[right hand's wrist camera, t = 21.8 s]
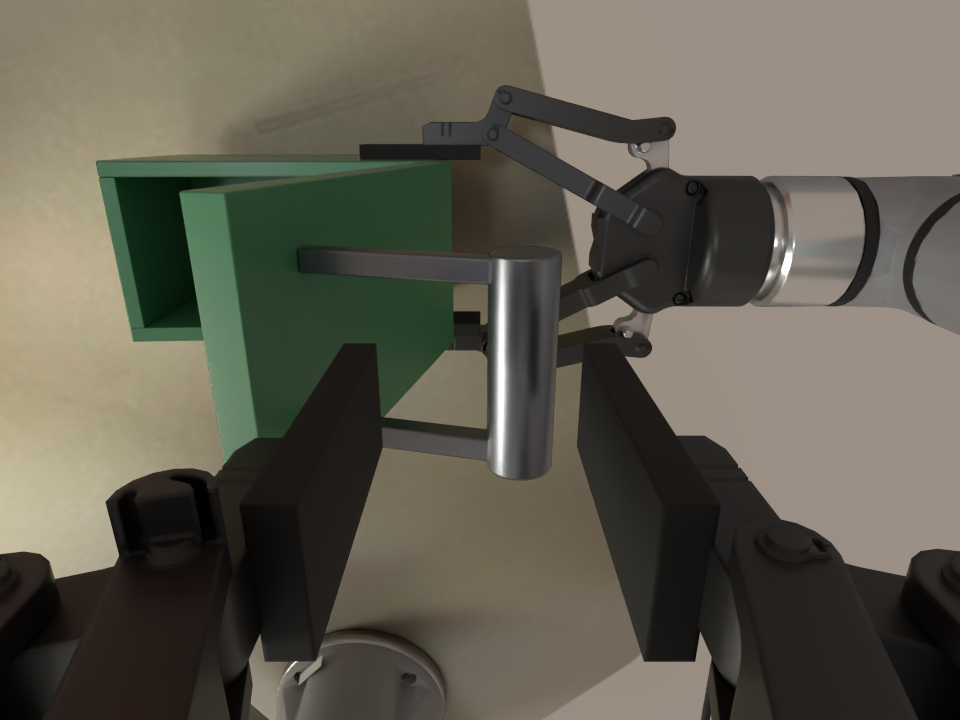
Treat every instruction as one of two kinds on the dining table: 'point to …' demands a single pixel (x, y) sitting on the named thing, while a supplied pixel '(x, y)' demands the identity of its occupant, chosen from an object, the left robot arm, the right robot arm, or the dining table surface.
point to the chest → (183, 225)
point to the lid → (367, 307)
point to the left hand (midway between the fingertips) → (370, 241)
